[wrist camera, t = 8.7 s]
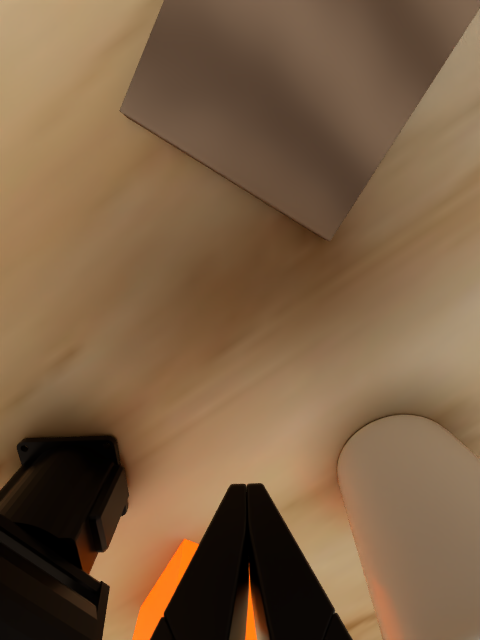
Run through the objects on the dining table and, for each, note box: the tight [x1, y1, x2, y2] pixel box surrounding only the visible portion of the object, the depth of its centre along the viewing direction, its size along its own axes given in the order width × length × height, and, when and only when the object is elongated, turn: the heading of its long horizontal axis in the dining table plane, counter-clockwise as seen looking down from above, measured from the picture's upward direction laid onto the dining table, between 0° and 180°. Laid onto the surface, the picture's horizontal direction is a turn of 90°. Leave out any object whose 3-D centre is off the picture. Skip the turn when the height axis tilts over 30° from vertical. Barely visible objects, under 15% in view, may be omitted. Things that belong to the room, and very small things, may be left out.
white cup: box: [337, 415, 480, 640], centre depth 17 cm, size 10×10×12 cm
